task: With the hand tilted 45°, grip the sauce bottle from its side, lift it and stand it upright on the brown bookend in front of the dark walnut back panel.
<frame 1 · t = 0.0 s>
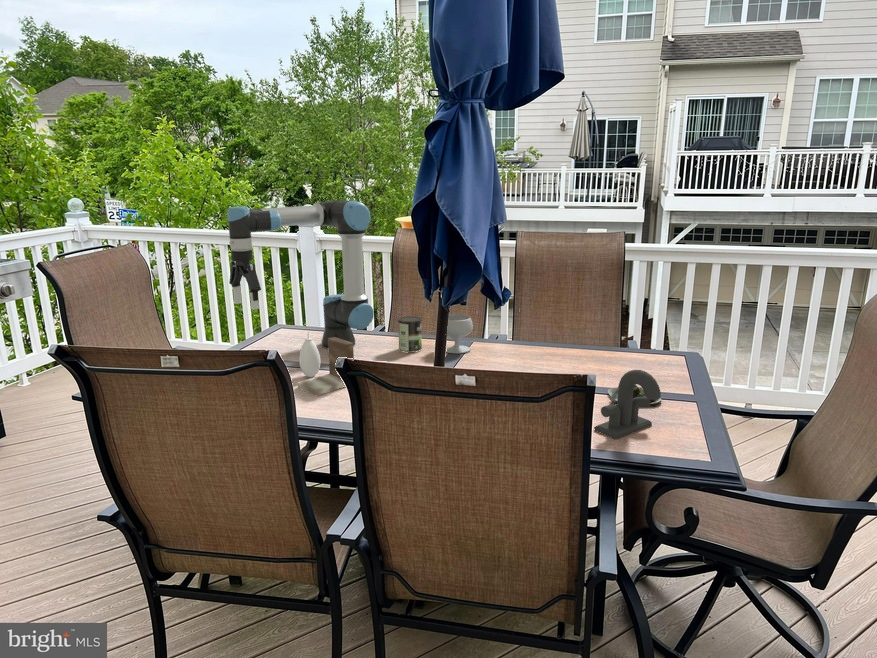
hand: (246, 306, 232), 28 cm above the table, tool pointing down, fingers open, 13 cm apart
chalice: (456, 350, 271), on the table
faucet: (632, 432, 187), on the table
coffee can: (410, 350, 273), on the table
sauce bottle: (310, 377, 239), on the table
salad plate: (633, 400, 214), on the table
brown bookend: (326, 385, 228), on the table
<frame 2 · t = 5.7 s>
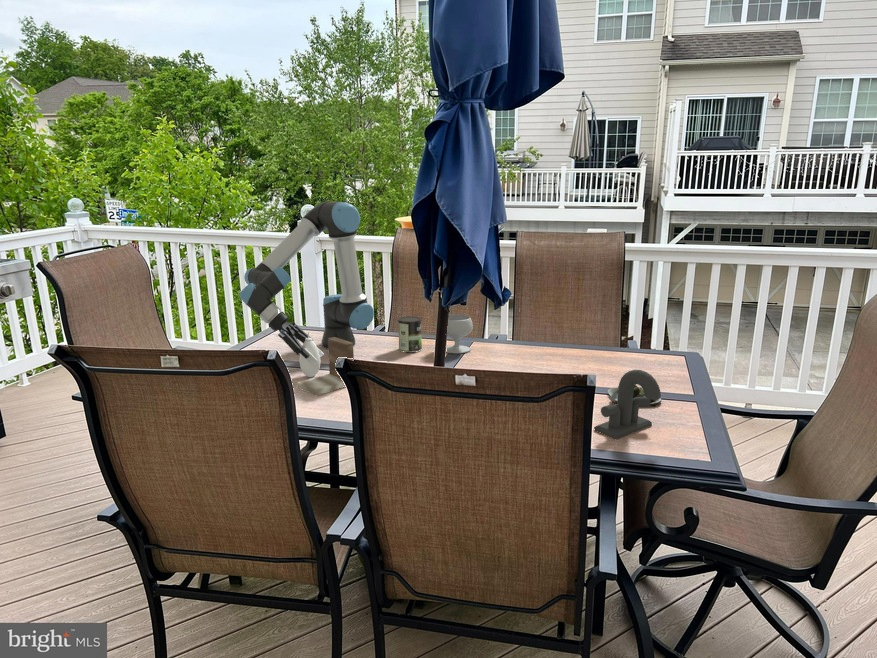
hand: (318, 359, 236), 7 cm above the table, tool tilted 45°, fingers closed on sauce bottle, 7 cm apart
sauce bottle: (310, 377, 239), on the table, touching gripper
everything else where it was.
when the fingers open (10 cm above the table, at t = 11.8 s): sauce bottle drops 1 cm, resting on brown bookend.
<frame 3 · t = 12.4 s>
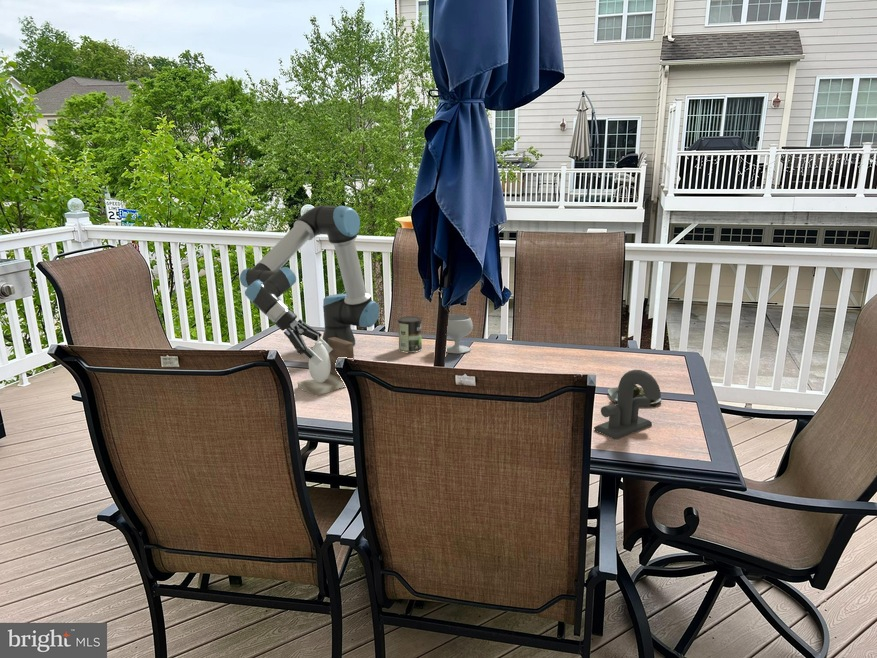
hand: (325, 357, 223), 12 cm above the table, tool tilted 45°, fingers open, 13 cm apart
sauce bottle: (320, 382, 227), point 2 cm above the table, touching brown bookend
everything else where it was.
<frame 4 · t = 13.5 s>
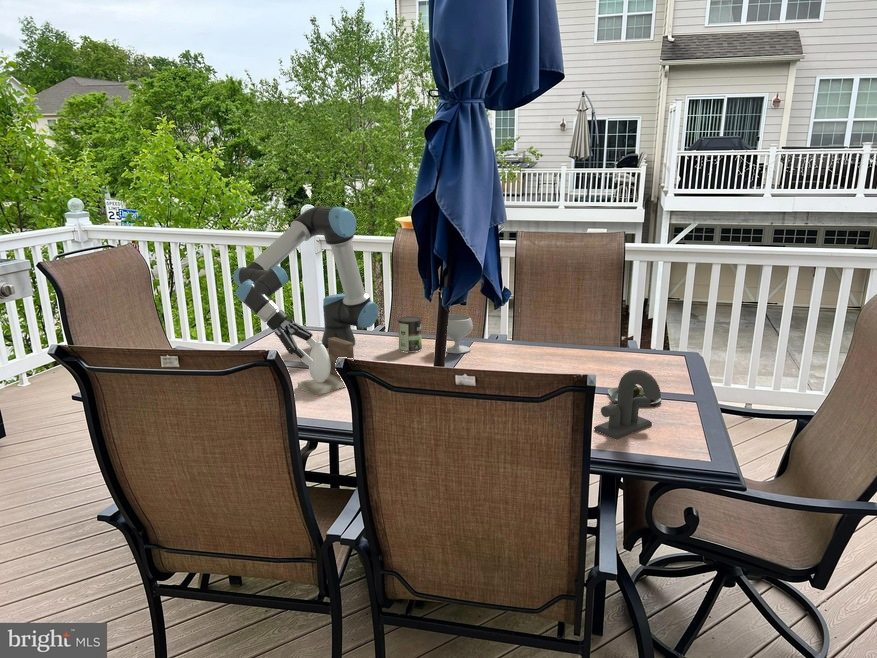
hand: (316, 357, 224), 12 cm above the table, tool tilted 45°, fingers open, 13 cm apart
nothing on the table moved.
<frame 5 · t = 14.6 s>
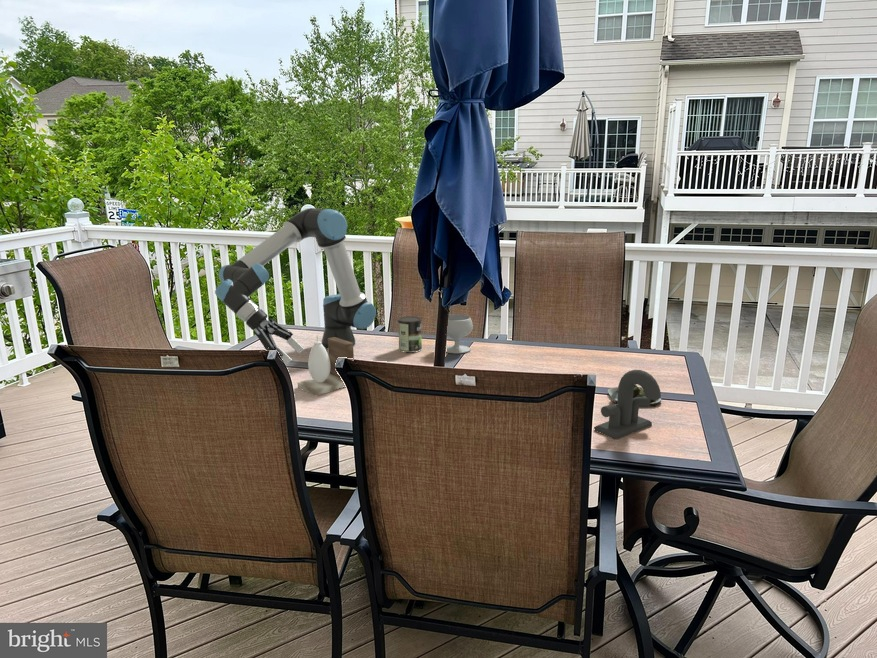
hand: (295, 356, 225), 12 cm above the table, tool tilted 45°, fingers open, 13 cm apart
nothing on the table moved.
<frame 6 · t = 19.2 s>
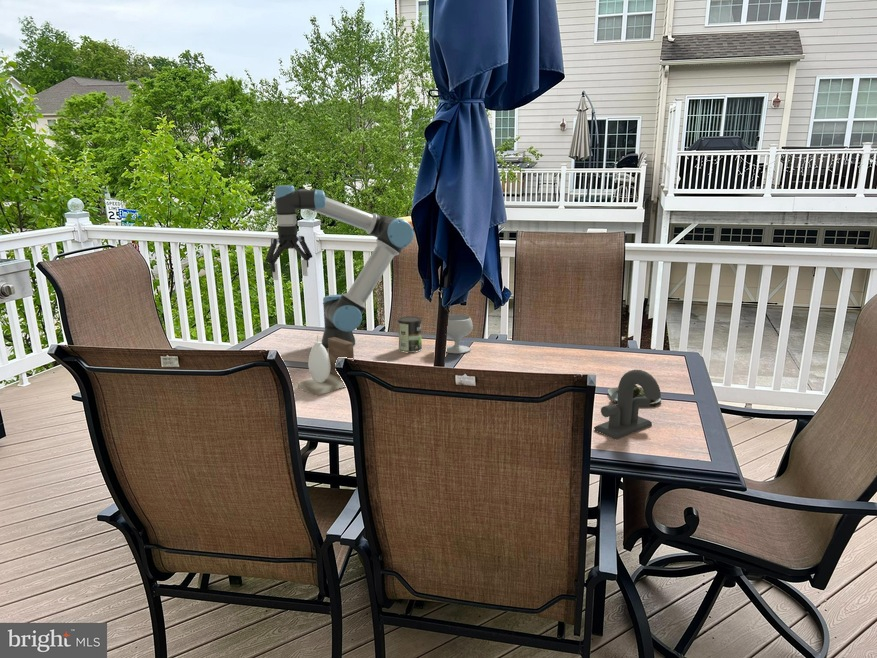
hand: (290, 277, 252), 35 cm above the table, tool pointing down, fingers open, 13 cm apart
nothing on the table moved.
at the end: sauce bottle inside the target area on the brown bookend (0.4 cm from its centre), point 1.8 cm above the brown bookend's base; sauce bottle tilted 1°; the gripper is holding nothing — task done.
